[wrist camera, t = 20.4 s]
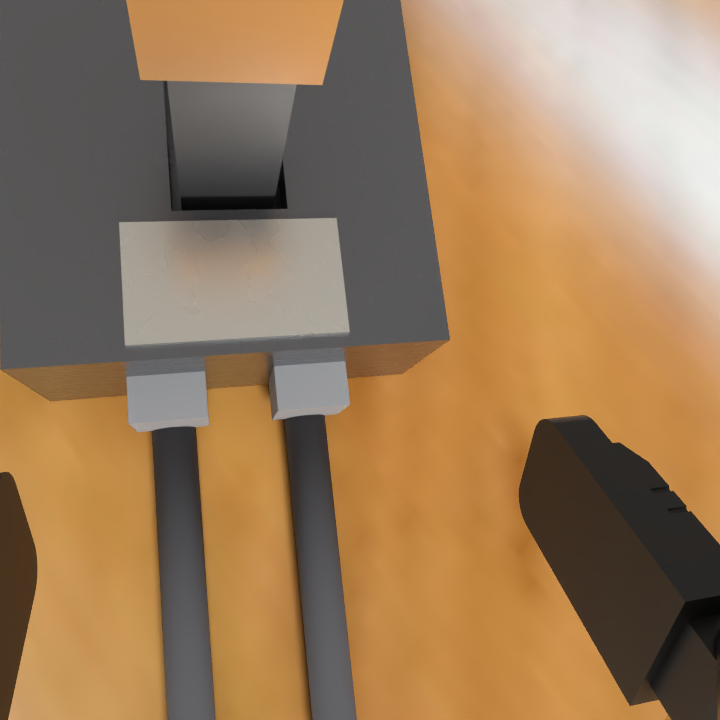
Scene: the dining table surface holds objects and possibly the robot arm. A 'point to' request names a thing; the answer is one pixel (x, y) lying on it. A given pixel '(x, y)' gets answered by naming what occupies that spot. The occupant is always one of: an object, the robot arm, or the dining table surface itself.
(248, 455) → the dining table surface
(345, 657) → the power cords
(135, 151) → the breaker box
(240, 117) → the handle
